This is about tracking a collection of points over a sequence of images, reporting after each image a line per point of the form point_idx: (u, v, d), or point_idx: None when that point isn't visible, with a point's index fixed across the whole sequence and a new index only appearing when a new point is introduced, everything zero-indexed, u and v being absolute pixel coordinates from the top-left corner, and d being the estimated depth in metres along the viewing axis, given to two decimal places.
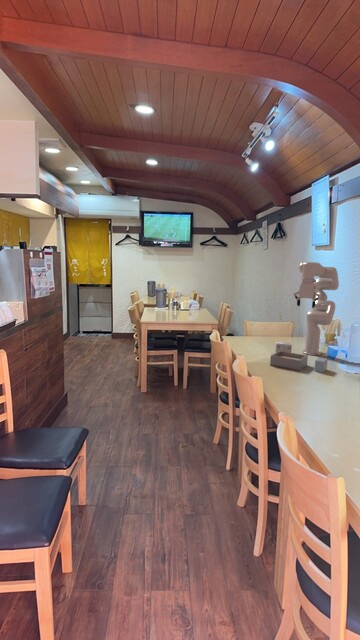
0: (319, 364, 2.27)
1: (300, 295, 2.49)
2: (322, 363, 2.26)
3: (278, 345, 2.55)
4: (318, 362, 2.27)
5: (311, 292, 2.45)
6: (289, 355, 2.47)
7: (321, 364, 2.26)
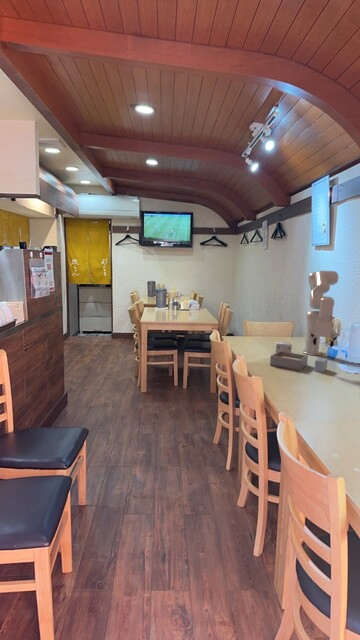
0: (319, 364, 2.27)
1: (317, 333, 2.28)
2: (322, 363, 2.26)
3: (278, 345, 2.55)
4: (318, 362, 2.27)
5: (329, 331, 2.23)
6: (289, 355, 2.47)
7: (321, 364, 2.26)
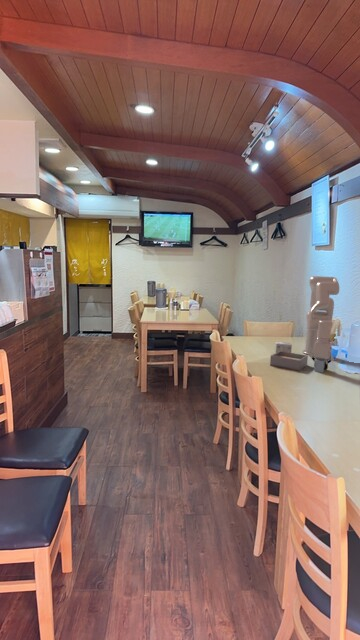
0: (319, 364, 2.27)
1: (315, 355, 2.30)
2: (322, 363, 2.26)
3: (278, 345, 2.55)
4: (318, 362, 2.27)
5: (327, 353, 2.26)
6: (289, 355, 2.47)
7: (321, 364, 2.26)
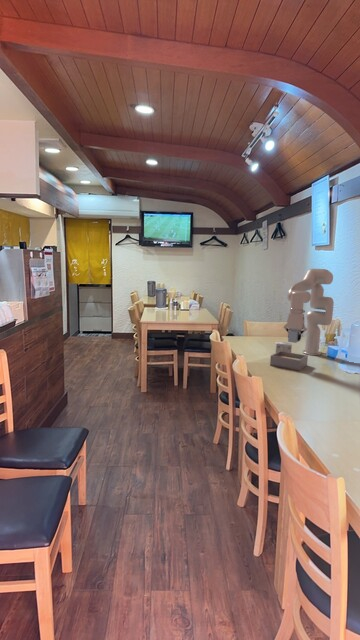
0: (292, 334, 2.32)
1: (288, 326, 2.36)
2: (295, 333, 2.31)
3: (278, 345, 2.55)
4: (291, 332, 2.33)
5: (300, 323, 2.32)
6: (289, 355, 2.47)
7: (294, 334, 2.32)
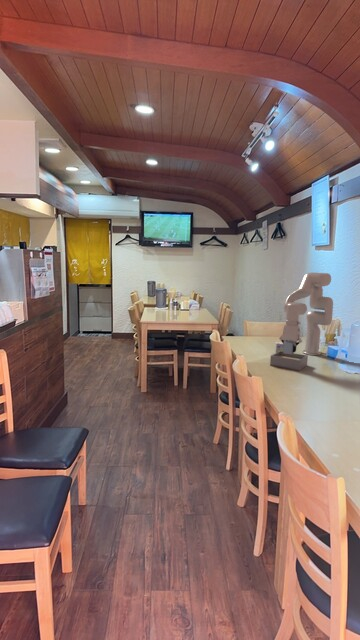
0: (287, 346, 2.35)
1: (284, 337, 2.38)
2: (290, 345, 2.34)
3: (278, 345, 2.55)
4: (286, 344, 2.35)
5: (295, 335, 2.34)
6: (289, 355, 2.47)
7: (289, 346, 2.34)
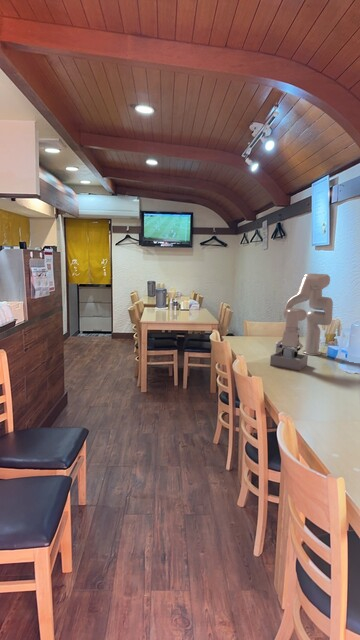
0: (287, 353, 2.36)
1: (283, 343, 2.39)
2: (290, 352, 2.35)
3: (278, 345, 2.55)
4: (286, 351, 2.36)
5: (294, 341, 2.34)
6: None
7: (289, 353, 2.35)
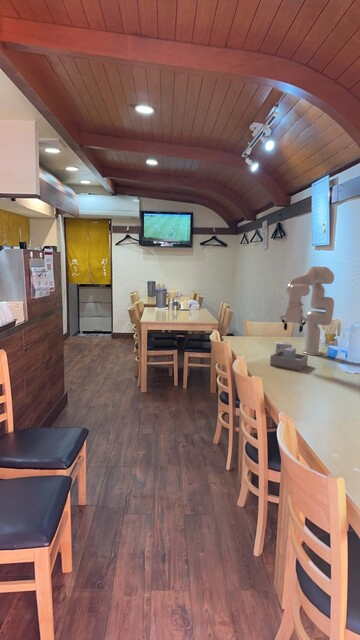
0: (287, 353, 2.36)
1: (287, 319, 2.39)
2: (290, 352, 2.35)
3: (278, 345, 2.55)
4: (286, 351, 2.36)
5: (298, 316, 2.34)
6: None
7: (289, 353, 2.35)
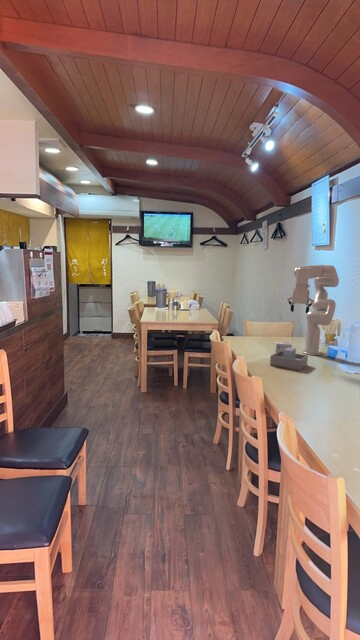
0: (287, 353, 2.36)
1: (294, 300, 2.46)
2: (290, 352, 2.35)
3: (278, 345, 2.55)
4: (286, 351, 2.36)
5: (305, 297, 2.42)
6: None
7: (289, 353, 2.35)
